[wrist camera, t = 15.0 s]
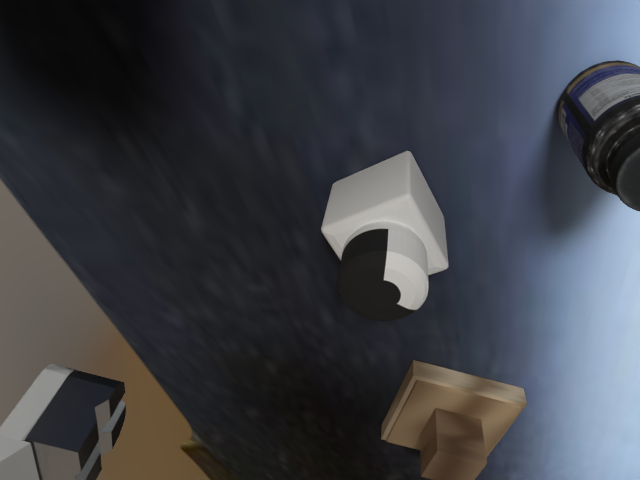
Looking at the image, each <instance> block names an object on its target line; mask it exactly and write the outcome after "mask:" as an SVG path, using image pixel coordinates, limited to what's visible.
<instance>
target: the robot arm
mask: <svg viewBox="0 0 640 480" xmlns="http://www.w3.org/2000/svg"><path fill="white" fill-rule="evenodd" d="M124 393H125V387H124V382H120V381H116V380H112V379H109V378H105V377H101V376H97V375H93V374H89V373H85V372H81V371H78V370H75V369H71V368H68V367H63V366H59V365H55V364H50V365H49V366H47V367H46V368H45V369H44V370H42V372H41V373H40V374H39V376H38V377H37V378H36V380H35V381H34V383H33V384H32V385H31V387H30V388H29V389H28V391H27V392H26V393H25V394H24V396H23V397H22V399H21V400H20V402H19V403H18V404H17V405H16V407H15V408H14V409H13V411H12V412H11V413H10V415H9V416H8V417H7V419H6V420H5V421H4V423H3V424H2V425H1V427H0V480H96V479H97V477H98V475H99V474H100V472H101V470H102V467H101V456H102V455H104V454H105V453H107V452H108V451H110V450H111V449H113V447H114V445H115V443H116V440H117V438H118V437H119V434H120V431H121V428H122V426H123V423H124V419H125V413H126V405H125V404H124V403H123V401H122V400H121V399H122V397H123V395H124Z"/></svg>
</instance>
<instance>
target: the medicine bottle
mask: <svg viewBox="0 0 640 480" xmlns="http://www.w3.org/2000/svg"><path fill="white" fill-rule="evenodd" d="M321 230H322V233H323V235H324V236H325V238H326V239H327V241H328V242H329V244H330V245H331V247H332V248H333V250H334V251H335V253H336V254H337V256H338V257H339V259H340V260H341V263H340V268H339V274H338V279H337V287H338V292H339V295H340V297H341V298H342V300H343V301H344V303H345V304H346V305H347V306H348V307H349V308H351V309H352V310H353V311H354V312H356V313H358V314H359V315H361V316H364V317H366V318H369V319H373V320H380V321H389V320H396V319H400V318H403V317H405V316H408V315H410V314H411V313H413V312H415V311H416V310H417V309H418V308H419V307H420V306H421V305H422V304H423V303H424V301H425V299H426V297H427V294H428V275H431V274H434V273H437V272H440V271H443V270H445V269H447V268H448V256H447V246H446V235H445V224H444V216H443V214H442V212H441V210H440V208H439V206H438V204H437V202H436V200H435V198H434V196H433V194H432V193H431V191H430V189H429V187H428V185H427V183H426V181H425V179H424V177H423V175H422V173H421V171H420V169H419V167H418V165H417V163H416V161H415V159H414V157H413V155H412V153H411V152H410V151H405V152H403V153H401V154H398V155H396V156H394V157H392V158H389V159H387V160H385V161H382V162H380V163H378V164H376V165H373V166H371V167H369V168H366V169H364V170H362V171H360V172H357V173H355V174H353V175H350V176H348V177H346V178H344V179H341V180H339V181H337V182H335V183H334V184H333V185H332V189H331V193H330V197H329V201H328V204H327V208H326V212H325V216H324V220H323V224H322V228H321Z"/></svg>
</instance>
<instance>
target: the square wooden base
mask: <svg viewBox="0 0 640 480" xmlns="http://www.w3.org/2000/svg"><path fill="white" fill-rule="evenodd" d="M526 405H527V402H526V398H525V393H524V388H520V387H516V386H512V385H508V384H505V383H501V382H497V381H493V380H489V379H485V378H481V377H477V376H473V375H470V374H466V373H462V372H458V371H454V370H450V369H446V368H442V367H438V366H435V365H431V364H427V363H423V362H419V361H415V360H413V362H412V364H411V366H410V368H409V370H408V372H407V374H406V376H405V378H404V380H403V382H402V384H401V386H400V388H399V390H398V392H397V394H396V396H395V399H394V401H393V403H392V405H391V407H390V409H389V411H388V413H387V415H386V417H385V419H384V421H383V423H382V432H381V439H383V440H386V442H390V443H394V444H397V445H401V446H405V447H409V448H413V449H417V450H421V447H420V433H421V432H422V430H423V428H424V427H425V425H426V423H427V421H428V420H429V418H430V416H431V415H432V413H433V411H434V409H435V408H439V409H443V410H446V411H450V412H454V413H458V414H462V415H466V416H470V417H474V418H478V419H481V421H482V429H483V436H484V444H485V452H486V457H487V456H488V455H489V453H490V452H491V451H492V450H493V448H494V447H495V446H496V444H497V443H498V442H499V440H500V439H501V438H502V436H503V435H504V434H505V432H506V431H507V430H508V429H509V427H510V426H511V425H512V423H513V422H514V421H515V419H516V418H517V417H518V415H519V414H520V413H521V411H522V410H523V409H524V407H525V406H526Z"/></svg>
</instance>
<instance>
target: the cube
mask: <svg viewBox="0 0 640 480" xmlns="http://www.w3.org/2000/svg"><path fill="white" fill-rule="evenodd" d="M420 447H421V477H425V478H429V479H433V480H475V478H476V477H477V476H478V474H479V473H480V472H481V471H482V469H483V468H484V467H485V465H486V464H487V460H486V452H485V444H484V436H483V429H482V421H481V419H478V418H474V417H470V416H466V415H462V414H458V413H454V412H450V411H446V410H443V409H439V408H435V409H434V411H433V413H432V415H431V416H430V418H429V420H428V421H427V423H426V425H425V427H424V428H423V430H422V432H421V433H420Z"/></svg>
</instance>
